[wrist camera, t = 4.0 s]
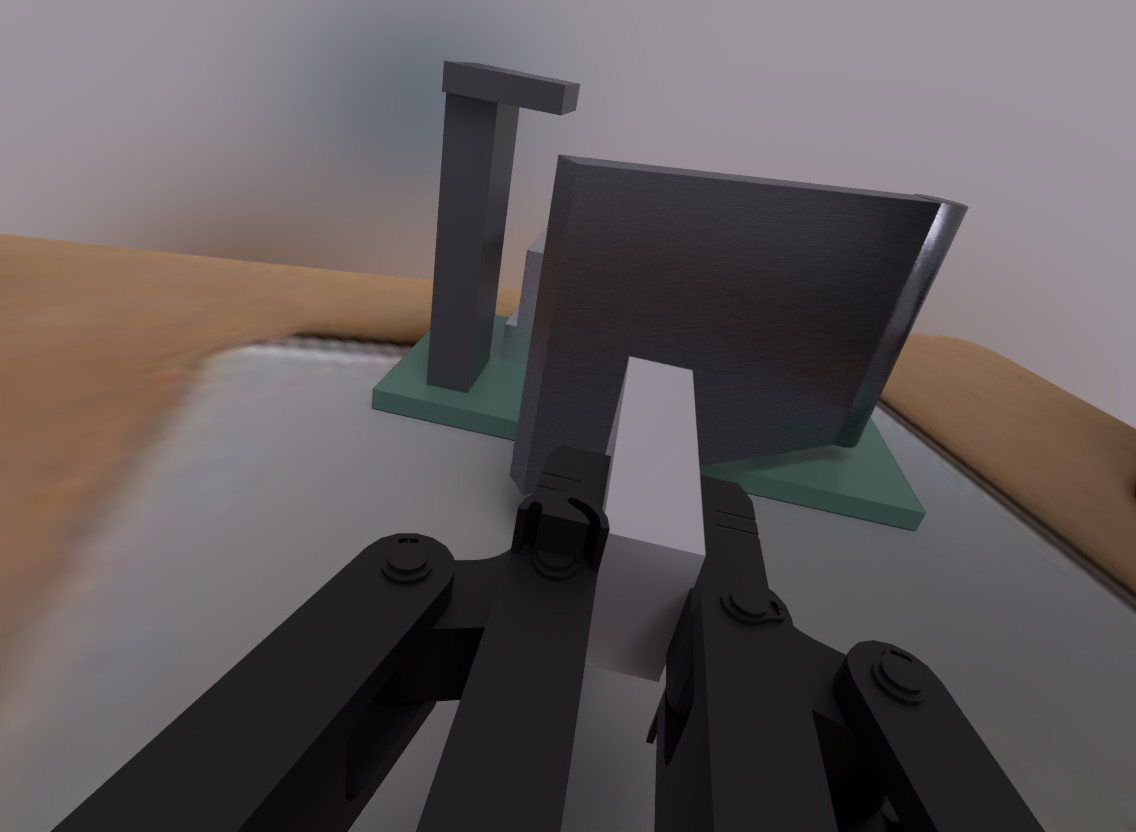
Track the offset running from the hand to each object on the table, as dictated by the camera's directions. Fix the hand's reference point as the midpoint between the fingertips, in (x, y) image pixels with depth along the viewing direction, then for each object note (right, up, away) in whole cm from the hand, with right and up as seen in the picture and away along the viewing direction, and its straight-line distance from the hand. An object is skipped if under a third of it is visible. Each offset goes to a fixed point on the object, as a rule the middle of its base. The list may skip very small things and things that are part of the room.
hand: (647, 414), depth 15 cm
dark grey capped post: (-6, +2, +16) cm, 17 cm away
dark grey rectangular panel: (+4, -2, +11) cm, 12 cm away
